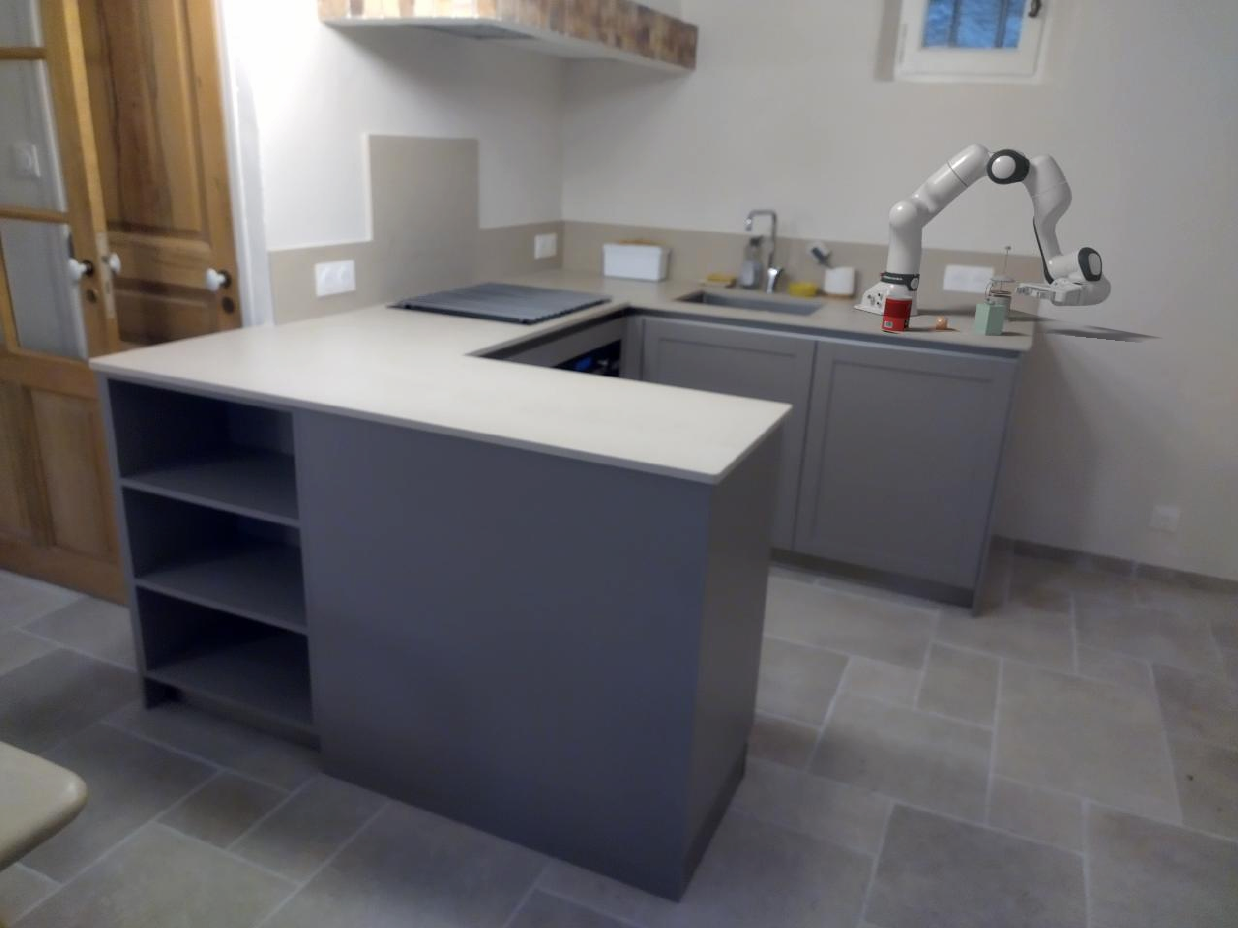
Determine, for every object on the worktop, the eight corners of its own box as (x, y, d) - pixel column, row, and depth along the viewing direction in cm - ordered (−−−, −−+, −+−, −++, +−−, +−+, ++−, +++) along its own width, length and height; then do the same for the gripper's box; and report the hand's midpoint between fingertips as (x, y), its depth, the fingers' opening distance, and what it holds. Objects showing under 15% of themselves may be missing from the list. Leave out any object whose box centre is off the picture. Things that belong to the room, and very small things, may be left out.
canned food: (909, 334, 280) (914, 299, 276) (882, 332, 281) (887, 297, 277) (906, 330, 287) (911, 295, 283) (880, 328, 288) (885, 293, 285)
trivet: (919, 329, 290) (920, 326, 290) (943, 328, 293) (944, 326, 293) (937, 334, 282) (937, 331, 282) (961, 334, 285) (961, 331, 285)
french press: (992, 322, 310) (1005, 247, 302) (971, 316, 320) (983, 243, 312) (1016, 322, 312) (1030, 247, 304) (995, 316, 323) (1007, 244, 315)
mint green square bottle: (972, 332, 285) (977, 299, 282) (988, 331, 287) (993, 299, 284) (984, 335, 280) (990, 302, 276) (1001, 335, 282) (1006, 302, 278)
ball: (933, 328, 288) (935, 317, 286) (939, 327, 289) (941, 316, 288) (942, 330, 285) (943, 319, 284) (948, 329, 287) (950, 318, 286)
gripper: (1041, 278, 295) (1006, 278, 291) (1089, 286, 277) (1052, 286, 273) (1038, 297, 297) (1003, 298, 293) (1085, 307, 279) (1048, 307, 275)
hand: (1027, 292), depth 283 cm, fingers open, 8 cm apart
